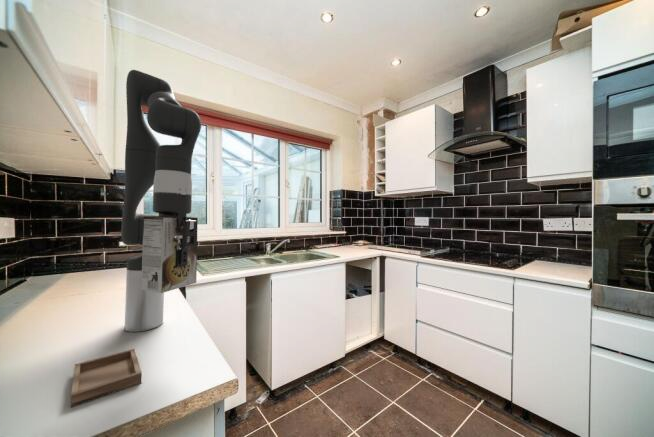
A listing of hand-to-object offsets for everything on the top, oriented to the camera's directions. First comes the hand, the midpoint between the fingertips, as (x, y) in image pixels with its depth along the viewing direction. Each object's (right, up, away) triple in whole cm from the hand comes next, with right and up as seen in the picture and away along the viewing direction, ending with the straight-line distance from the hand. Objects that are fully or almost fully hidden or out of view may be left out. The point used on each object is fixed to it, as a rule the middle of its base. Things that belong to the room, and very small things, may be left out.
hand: (170, 264), depth 57 cm
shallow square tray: (-8, -21, -7) cm, 24 cm away
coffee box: (0, -5, 0) cm, 5 cm away
